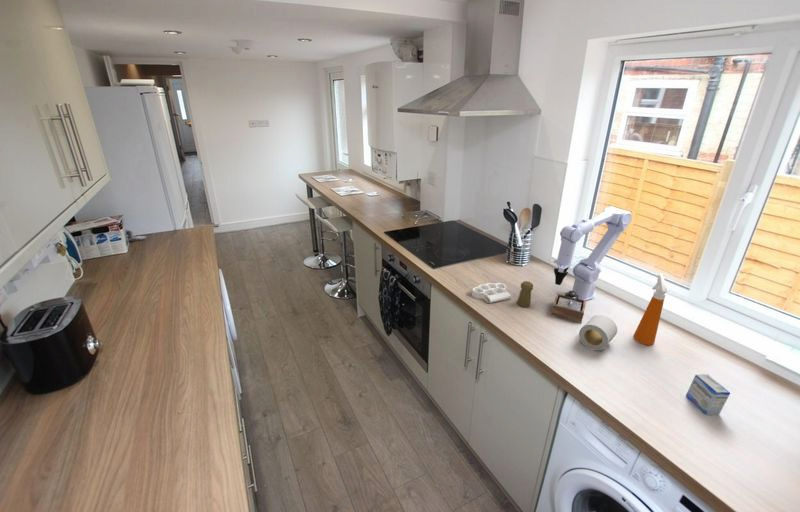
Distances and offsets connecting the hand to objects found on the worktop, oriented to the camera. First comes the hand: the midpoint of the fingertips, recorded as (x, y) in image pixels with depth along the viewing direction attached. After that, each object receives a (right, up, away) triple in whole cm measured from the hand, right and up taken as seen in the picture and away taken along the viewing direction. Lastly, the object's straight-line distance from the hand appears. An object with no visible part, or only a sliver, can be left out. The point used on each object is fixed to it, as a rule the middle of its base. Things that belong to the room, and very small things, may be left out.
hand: (559, 281), depth 164 cm
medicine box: (+21, -35, -52) cm, 66 cm away
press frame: (+2, -13, -5) cm, 14 cm away
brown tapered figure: (-16, -11, +1) cm, 19 cm away
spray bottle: (+24, -21, -20) cm, 38 cm away
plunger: (+2, -11, -6) cm, 12 cm away
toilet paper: (+3, -22, -24) cm, 33 cm away
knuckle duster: (-29, -7, +9) cm, 31 cm away
